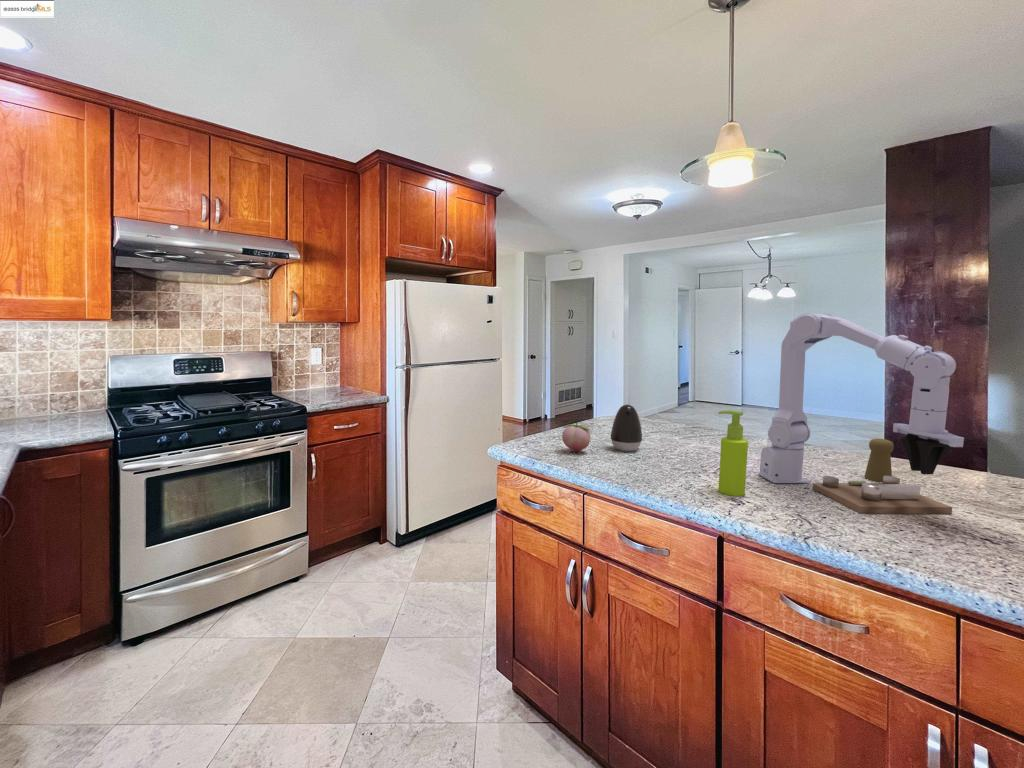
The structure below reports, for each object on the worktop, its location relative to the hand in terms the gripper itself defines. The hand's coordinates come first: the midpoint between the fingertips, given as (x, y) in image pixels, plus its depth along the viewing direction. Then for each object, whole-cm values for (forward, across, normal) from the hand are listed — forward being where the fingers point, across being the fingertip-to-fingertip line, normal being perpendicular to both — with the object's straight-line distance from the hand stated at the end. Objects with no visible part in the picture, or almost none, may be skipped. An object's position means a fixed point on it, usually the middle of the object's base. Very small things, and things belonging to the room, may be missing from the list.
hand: (921, 472), depth 100 cm
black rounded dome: (+10, +56, +49) cm, 75 cm away
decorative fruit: (+10, +52, +66) cm, 85 cm away
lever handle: (+8, +5, +2) cm, 10 cm away
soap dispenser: (+10, +14, +34) cm, 38 cm away
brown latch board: (+9, +8, +2) cm, 13 cm away
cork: (+10, +24, -11) cm, 29 cm away
